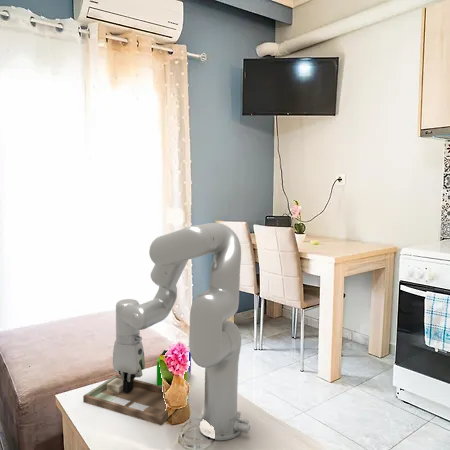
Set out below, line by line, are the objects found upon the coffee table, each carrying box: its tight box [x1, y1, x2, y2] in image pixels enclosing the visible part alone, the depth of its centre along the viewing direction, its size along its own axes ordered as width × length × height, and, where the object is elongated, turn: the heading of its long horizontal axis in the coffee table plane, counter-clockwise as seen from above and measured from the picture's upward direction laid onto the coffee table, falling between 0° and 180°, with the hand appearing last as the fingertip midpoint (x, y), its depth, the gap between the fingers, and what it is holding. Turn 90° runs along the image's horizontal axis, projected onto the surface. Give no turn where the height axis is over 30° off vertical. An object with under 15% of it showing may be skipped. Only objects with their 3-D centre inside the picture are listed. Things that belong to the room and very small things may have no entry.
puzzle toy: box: [156, 349, 192, 387], centre depth 144 cm, size 10×10×10 cm
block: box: [107, 378, 123, 394], centre depth 136 cm, size 5×5×2 cm
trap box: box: [83, 374, 169, 426], centre depth 130 cm, size 29×16×4 cm, turn 66°
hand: (128, 390), depth 134 cm, fingers closed
